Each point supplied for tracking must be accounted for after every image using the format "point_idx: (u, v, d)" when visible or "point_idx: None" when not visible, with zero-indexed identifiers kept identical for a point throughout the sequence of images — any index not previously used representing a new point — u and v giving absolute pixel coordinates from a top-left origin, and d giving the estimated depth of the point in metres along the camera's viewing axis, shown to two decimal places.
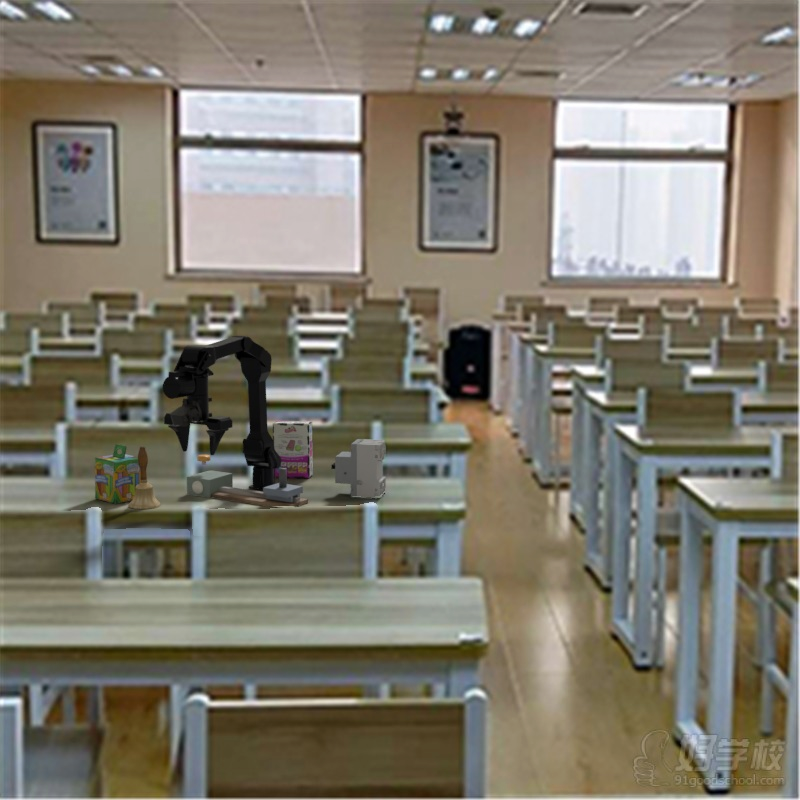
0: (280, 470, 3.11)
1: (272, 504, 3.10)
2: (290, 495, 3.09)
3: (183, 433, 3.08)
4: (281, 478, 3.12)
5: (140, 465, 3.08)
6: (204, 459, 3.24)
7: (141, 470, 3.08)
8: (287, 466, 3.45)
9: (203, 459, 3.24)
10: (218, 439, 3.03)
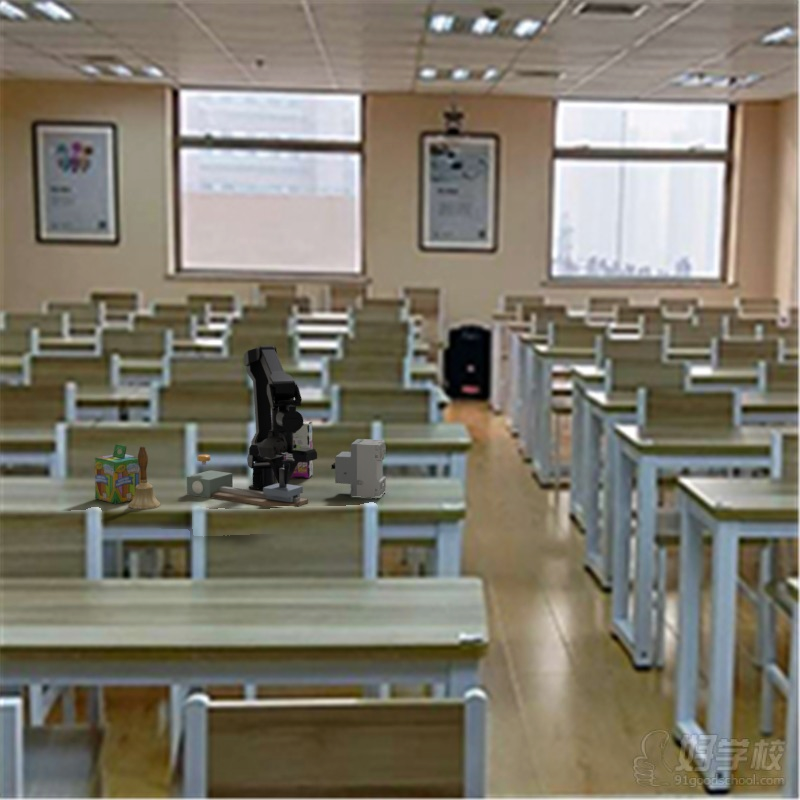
0: (280, 470, 3.11)
1: (272, 504, 3.10)
2: (290, 495, 3.09)
3: (278, 465, 3.13)
4: (281, 478, 3.12)
5: (140, 465, 3.08)
6: (204, 459, 3.24)
7: (141, 470, 3.08)
8: None
9: (203, 459, 3.24)
10: (292, 469, 3.12)
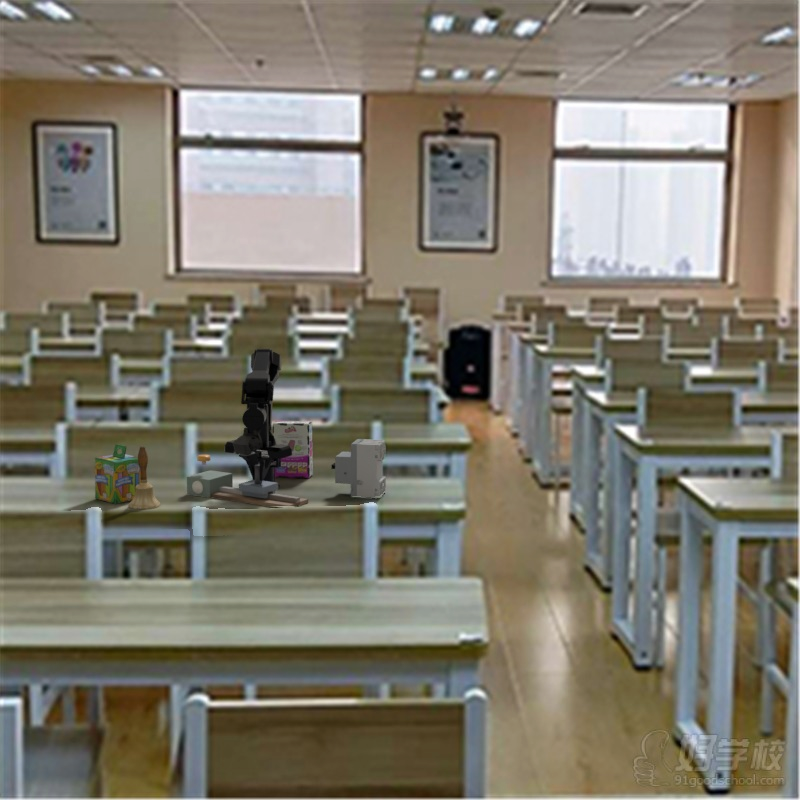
0: (255, 467, 3.15)
1: (272, 504, 3.10)
2: (265, 491, 3.13)
3: (253, 462, 3.17)
4: (256, 475, 3.16)
5: (140, 465, 3.08)
6: (204, 459, 3.24)
7: (141, 470, 3.08)
8: (287, 466, 3.45)
9: (203, 459, 3.24)
10: (267, 466, 3.16)
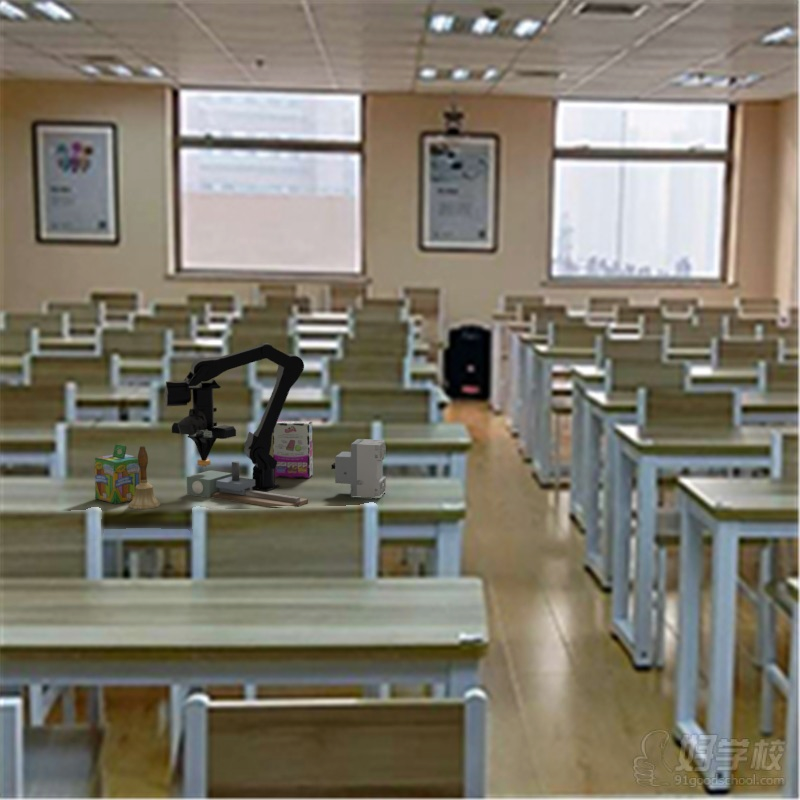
0: (233, 464, 3.19)
1: (272, 504, 3.10)
2: (242, 488, 3.17)
3: (202, 443, 3.25)
4: (233, 471, 3.19)
5: (140, 465, 3.08)
6: (204, 463, 3.24)
7: (141, 470, 3.08)
8: (287, 466, 3.45)
9: (203, 463, 3.24)
10: (210, 446, 3.25)
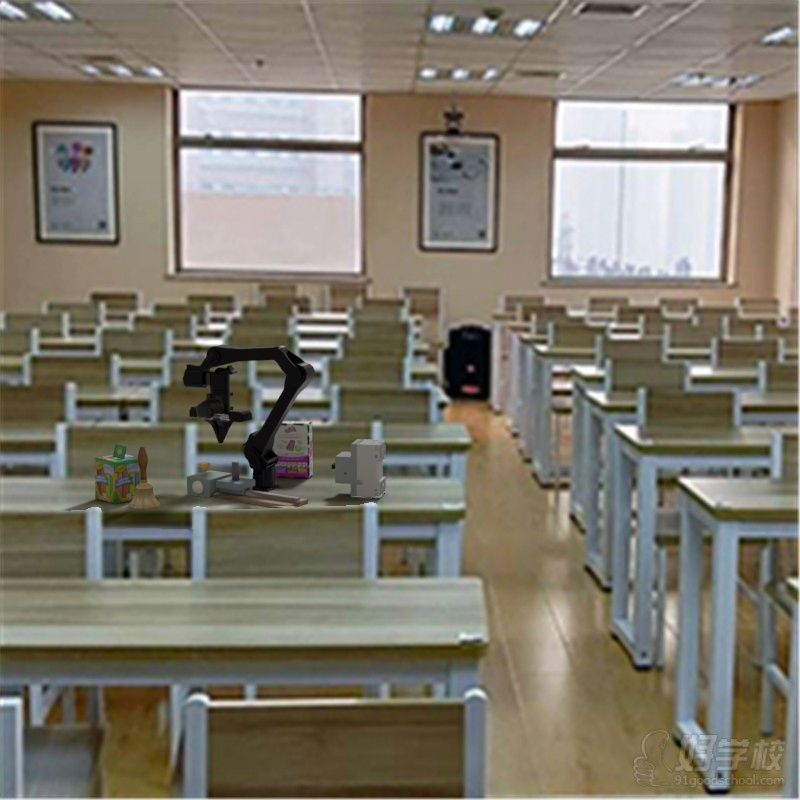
0: (233, 464, 3.19)
1: (272, 504, 3.10)
2: (242, 488, 3.17)
3: (218, 426, 3.34)
4: (233, 471, 3.19)
5: (140, 465, 3.08)
6: (204, 467, 3.24)
7: (141, 470, 3.08)
8: (287, 466, 3.45)
9: (203, 467, 3.24)
10: (226, 429, 3.34)
